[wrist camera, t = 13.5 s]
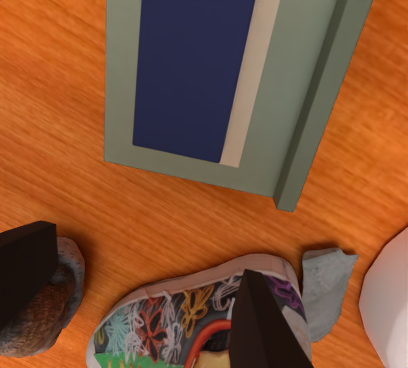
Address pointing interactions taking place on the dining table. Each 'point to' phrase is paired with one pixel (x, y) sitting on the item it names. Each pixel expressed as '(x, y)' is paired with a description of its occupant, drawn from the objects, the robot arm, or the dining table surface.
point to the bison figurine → (47, 307)
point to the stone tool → (324, 288)
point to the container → (388, 303)
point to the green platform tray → (248, 96)
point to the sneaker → (190, 318)
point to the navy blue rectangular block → (189, 74)
